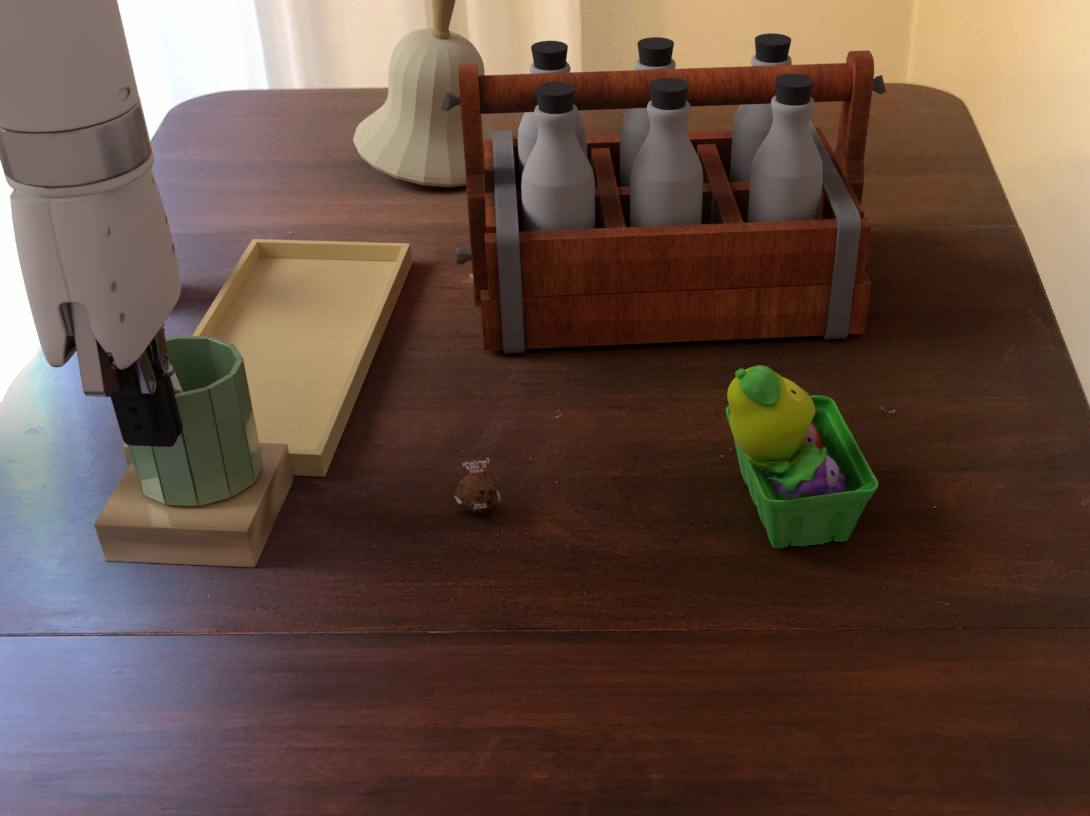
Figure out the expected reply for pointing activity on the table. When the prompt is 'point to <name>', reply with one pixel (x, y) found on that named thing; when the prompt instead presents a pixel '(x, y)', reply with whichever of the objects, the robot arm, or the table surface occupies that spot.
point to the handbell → (422, 108)
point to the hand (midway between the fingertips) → (154, 438)
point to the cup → (204, 429)
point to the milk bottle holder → (667, 201)
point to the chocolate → (477, 489)
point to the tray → (307, 335)
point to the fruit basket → (797, 459)
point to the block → (196, 521)
